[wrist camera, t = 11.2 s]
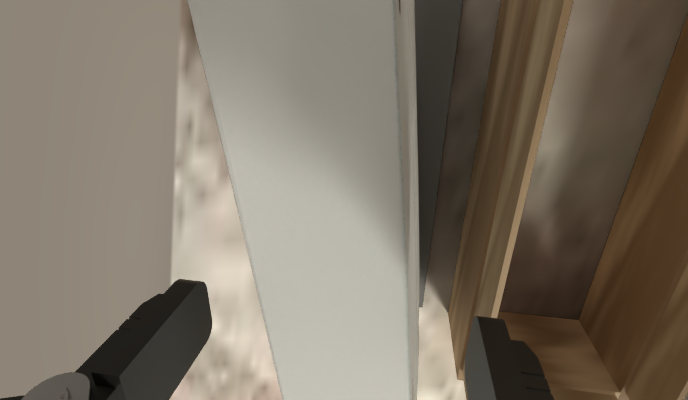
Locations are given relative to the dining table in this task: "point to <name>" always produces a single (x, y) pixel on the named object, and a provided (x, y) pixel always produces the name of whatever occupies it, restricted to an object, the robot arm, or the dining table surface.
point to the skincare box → (324, 183)
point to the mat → (432, 106)
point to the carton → (622, 244)
